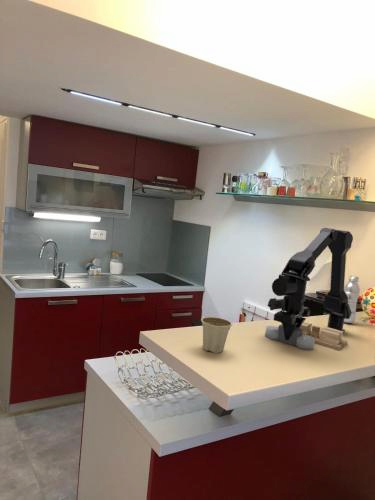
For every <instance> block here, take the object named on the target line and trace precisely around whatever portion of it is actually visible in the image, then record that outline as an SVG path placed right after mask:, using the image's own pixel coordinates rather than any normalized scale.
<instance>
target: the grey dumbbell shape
mask: <svg viewBox="0 0 375 500" xmlns="http://www.w3.org/2000/svg"><path fill="white" fill-rule="evenodd" d="M302 331H303V329H301V328H297V327H295V329H294V331H293V333H292V335H291V336H290V338H289V340H285V336H284V329H283V325H282V323H280V325H278V326H275V325H267V326H266V327H265V333H264V336H265V338H267V339H270V340H276V341H280V342H283V343H287V344H289V345H292V346H296V347H297V348H299V349H301V350H302V349H303V350H309V351H311V350H314V348H315V344H316V343H315V339H314V338H313V337H311V336H308V335H302Z"/></svg>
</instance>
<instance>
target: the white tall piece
mask: <svg viewBox="0 0 375 500" xmlns="http://www.w3.org/2000/svg"><path fill="white" fill-rule="evenodd" d="M358 283H359V276H355V275H349V278H348V282H347V283H346V284H344V291H345V293H346V295H347V297H348V304H349V307H350V310H351V312H352V313H351V316H350V318H349V319H344V324H353V323H355V322H356V320H357V314H356V313H357V304H358V298H359V296H360V293H361V288H360V285H359V284H358Z"/></svg>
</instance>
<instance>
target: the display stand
mask: <svg viewBox="0 0 375 500" xmlns="http://www.w3.org/2000/svg"><path fill="white" fill-rule="evenodd" d="M300 328H301V329H303V331H302V335H308V336H311V337H313V338H314V339H315V343H314V344H316V345H320V346H323V347H327V348H330V349H333V350H335V351H336V350H338V351H340V350H342V349H343V348H344V347H345V346H346V345H348V340H344V339H343V334H344V332H343V331H339V330H336V329H332V328H328V327H327V326H325V327H324V328H322V329H321V326H319V325H315V324H314V325H313V322H309V321H306V320H305V321H304V322H303V323H302V325H301V326H300Z"/></svg>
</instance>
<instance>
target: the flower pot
mask: <svg viewBox="0 0 375 500" xmlns="http://www.w3.org/2000/svg"><path fill="white" fill-rule="evenodd" d="M200 321H201V326H202V348H203V349H204V350H205V351H210V352H212V353H221V352H223V351H224V348H225V345H226V342H227V338H228V334H229V331H230V330H231V327H232V326H233V323H232V321H230V320H228V319H225V318H222V317H217V316H216V317H215V316H205V317H202V318H201V319H200Z"/></svg>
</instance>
